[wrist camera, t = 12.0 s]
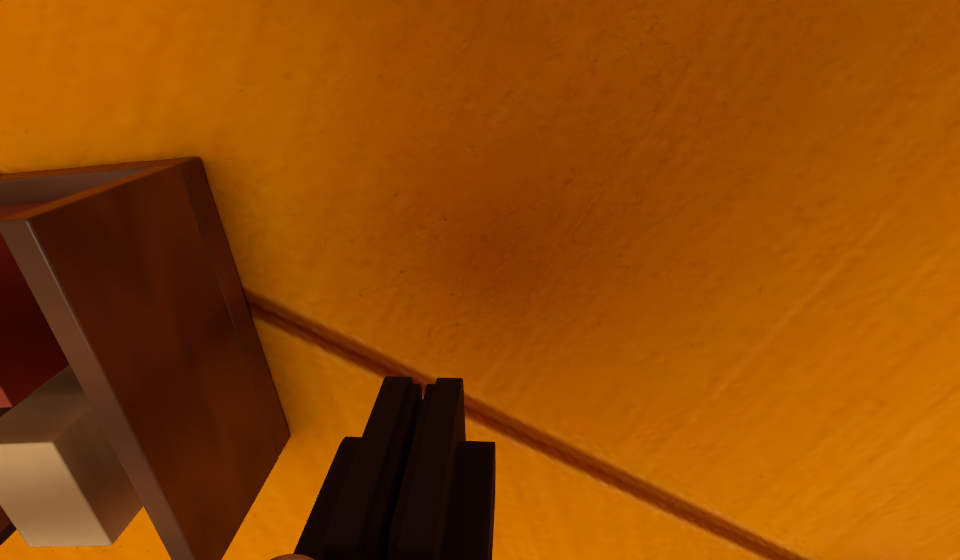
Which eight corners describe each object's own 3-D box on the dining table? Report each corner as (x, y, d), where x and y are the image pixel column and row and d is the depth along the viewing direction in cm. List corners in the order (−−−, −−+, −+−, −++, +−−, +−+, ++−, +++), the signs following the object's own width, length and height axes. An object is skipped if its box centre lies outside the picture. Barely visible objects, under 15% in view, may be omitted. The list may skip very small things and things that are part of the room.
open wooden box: (-71, 180, 18) (-368, 250, 12) (199, 156, 17) (26, 218, 11) (77, 444, 23) (-79, 587, 17) (291, 436, 22) (207, 585, 16)
